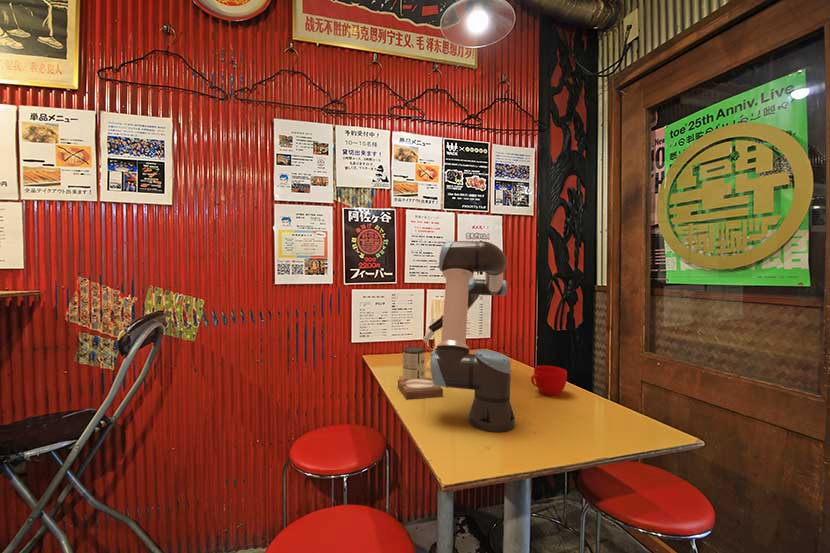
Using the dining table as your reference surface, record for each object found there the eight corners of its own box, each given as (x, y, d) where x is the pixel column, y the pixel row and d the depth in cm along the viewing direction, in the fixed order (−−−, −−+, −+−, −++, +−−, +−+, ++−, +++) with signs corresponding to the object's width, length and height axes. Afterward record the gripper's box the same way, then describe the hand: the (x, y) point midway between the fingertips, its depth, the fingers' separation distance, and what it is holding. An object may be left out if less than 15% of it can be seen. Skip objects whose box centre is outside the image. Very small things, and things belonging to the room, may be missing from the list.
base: (442, 396, 142) (442, 388, 142) (406, 399, 138) (406, 390, 138) (430, 384, 157) (431, 377, 157) (397, 387, 153) (398, 379, 153)
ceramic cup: (519, 392, 150) (520, 368, 150) (548, 386, 158) (549, 364, 157) (543, 402, 138) (544, 376, 138) (573, 396, 146) (574, 372, 146)
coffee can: (403, 375, 170) (404, 346, 170) (425, 376, 169) (425, 346, 169) (400, 381, 160) (401, 350, 160) (423, 383, 159) (424, 351, 159)
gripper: (478, 319, 168) (451, 354, 160) (447, 313, 189) (422, 344, 182) (469, 308, 165) (442, 343, 157) (439, 303, 186) (413, 334, 179)
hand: (431, 344), depth 170 cm, fingers open, 13 cm apart
